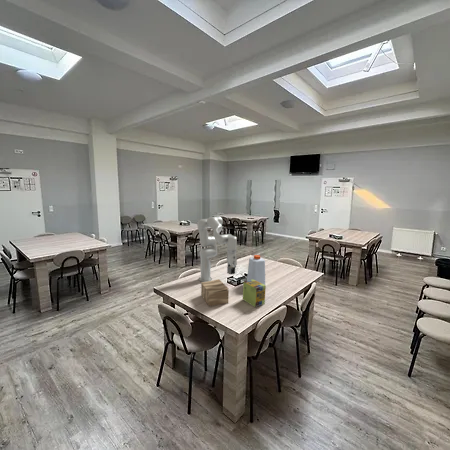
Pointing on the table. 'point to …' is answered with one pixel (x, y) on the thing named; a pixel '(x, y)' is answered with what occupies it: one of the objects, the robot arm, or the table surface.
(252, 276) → the plastic bottle
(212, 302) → the wooden box
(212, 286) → the box lid
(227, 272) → the grey rounded piece
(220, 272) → the table surface
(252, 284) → the protein box
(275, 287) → the table surface
